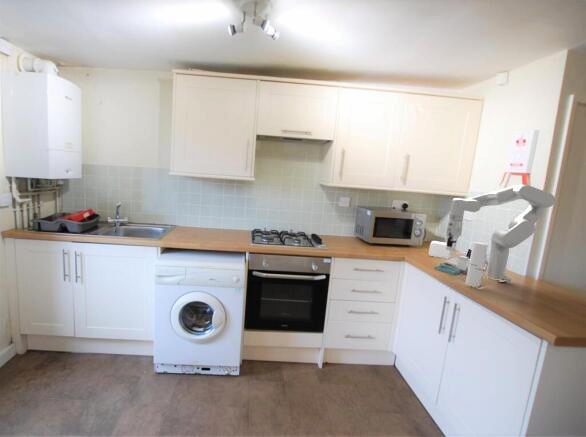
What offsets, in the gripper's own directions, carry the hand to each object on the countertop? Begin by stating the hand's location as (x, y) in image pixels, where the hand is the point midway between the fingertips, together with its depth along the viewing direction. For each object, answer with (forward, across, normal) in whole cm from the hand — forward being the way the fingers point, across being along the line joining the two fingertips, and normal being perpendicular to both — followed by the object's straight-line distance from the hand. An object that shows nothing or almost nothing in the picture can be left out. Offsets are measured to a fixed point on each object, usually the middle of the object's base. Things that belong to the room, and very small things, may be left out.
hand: (451, 246), depth 192 cm
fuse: (+16, +8, -5) cm, 19 cm away
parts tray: (+17, -1, -1) cm, 17 cm away
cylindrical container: (+18, -9, -21) cm, 29 cm away
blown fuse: (+3, 0, 0) cm, 3 cm away
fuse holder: (+17, +8, 0) cm, 19 cm away
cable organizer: (+18, +32, +25) cm, 45 cm away
